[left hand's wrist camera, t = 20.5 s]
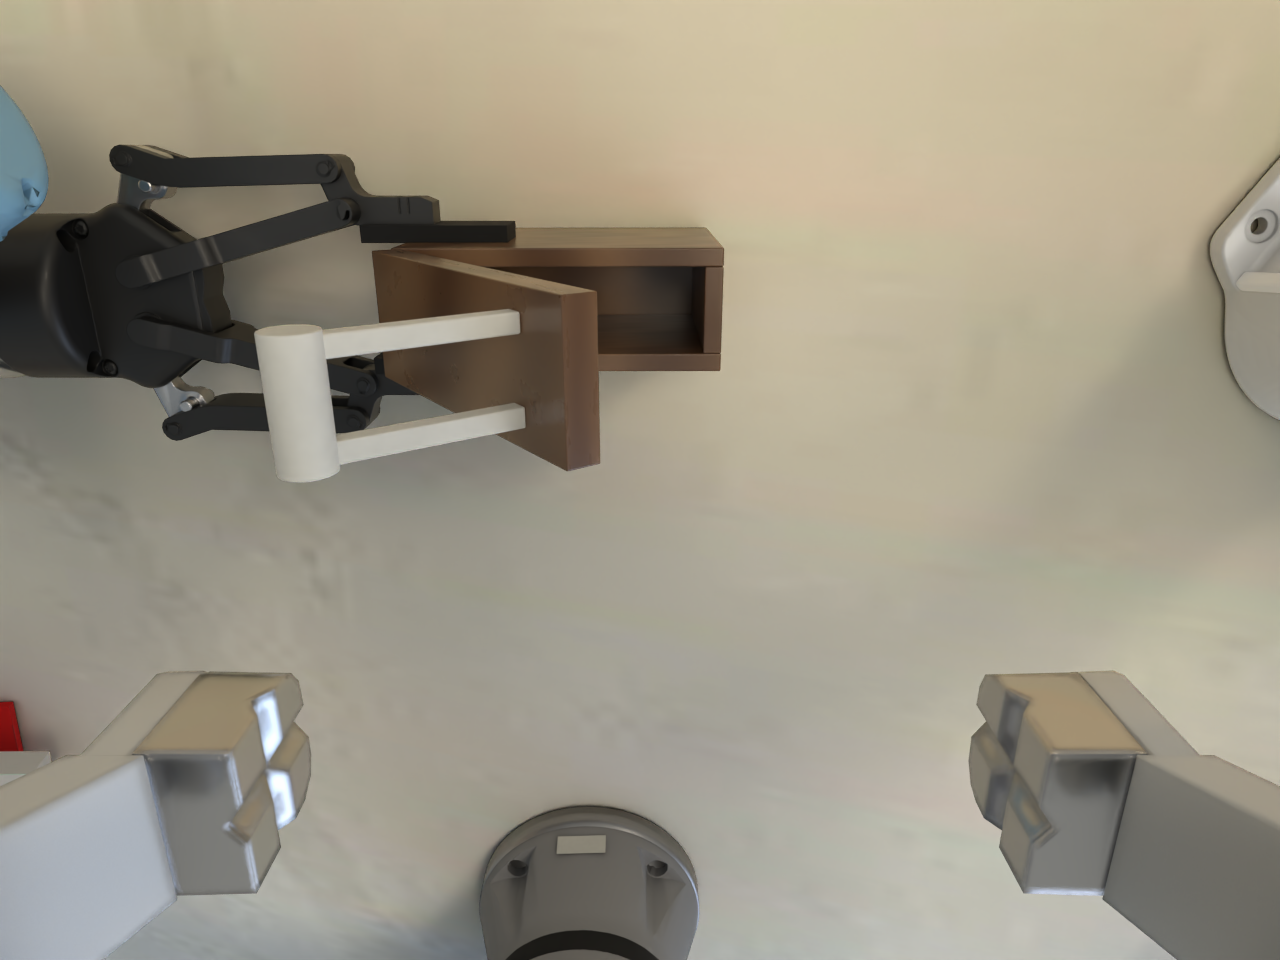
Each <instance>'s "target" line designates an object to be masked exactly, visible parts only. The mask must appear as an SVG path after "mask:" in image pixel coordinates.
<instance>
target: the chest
mask: <svg viewBox="0 0 1280 960" xmlns="http://www.w3.org/2000/svg"><path fill="white" fill-rule="evenodd" d="M515 230H516V237H515V238H514V239H512V240H511V241H509V242H486V243H405V244H402V245H399V246H397V247H394V248H392V249H391V250H394V249H401V250H406V251H411V252H415V253H420V254H425V255H429V256H434V257H439V258H443V259H448V260H453V261H457V262H462V263H467V264H471V265H476V266H481V267H485V268H490V269H495V270H499V271H504V272H509V273H514V274H518V275H523V276H528V277H532V278H537V279H542V280H546V281H551V282H556V283H560V284H565V285H570V286H574V287H579V288H584V289H588V290H593V291H596V292H597V323H598V371H720V364H721V354H720V353H721V332H722V299H723V265H724V248H723V247H722V246H721V245H720V243H719V242H718V241H717V240H716V239H715V237H714V236H713V235H712V234H711V233H710V232H709V230H708V229H707V228H515Z"/></svg>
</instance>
